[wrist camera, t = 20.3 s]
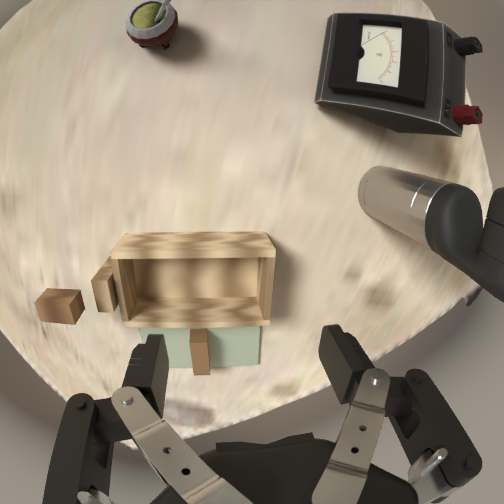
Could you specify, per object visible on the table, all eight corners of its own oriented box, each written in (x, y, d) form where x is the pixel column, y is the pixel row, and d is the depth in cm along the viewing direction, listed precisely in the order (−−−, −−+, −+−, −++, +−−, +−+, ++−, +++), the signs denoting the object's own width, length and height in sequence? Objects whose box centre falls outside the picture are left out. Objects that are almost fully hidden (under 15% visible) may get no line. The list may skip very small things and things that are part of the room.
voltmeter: (322, 20, 32) (386, -33, 14) (403, 55, 35) (482, 35, 17) (308, 103, 38) (381, 79, 19) (394, 132, 41) (482, 139, 22)
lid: (259, 312, 50) (264, 330, 45) (256, 359, 55) (261, 378, 50) (138, 315, 47) (132, 333, 42) (150, 362, 52) (146, 381, 46)
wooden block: (80, 289, 32) (69, 305, 29) (85, 308, 33) (75, 324, 30) (47, 288, 32) (34, 302, 28) (52, 306, 33) (41, 321, 29)
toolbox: (264, 231, 44) (278, 254, 35) (260, 298, 48) (271, 331, 40) (108, 233, 41) (86, 256, 32) (119, 299, 45) (103, 331, 36)
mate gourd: (128, 34, 29) (95, -7, 15) (172, 7, 29) (158, -43, 15) (150, 64, 32) (122, 28, 18) (196, 37, 31) (190, -11, 18)
